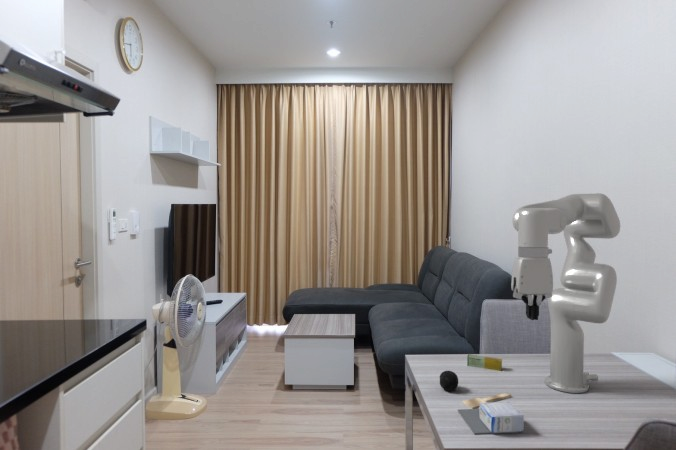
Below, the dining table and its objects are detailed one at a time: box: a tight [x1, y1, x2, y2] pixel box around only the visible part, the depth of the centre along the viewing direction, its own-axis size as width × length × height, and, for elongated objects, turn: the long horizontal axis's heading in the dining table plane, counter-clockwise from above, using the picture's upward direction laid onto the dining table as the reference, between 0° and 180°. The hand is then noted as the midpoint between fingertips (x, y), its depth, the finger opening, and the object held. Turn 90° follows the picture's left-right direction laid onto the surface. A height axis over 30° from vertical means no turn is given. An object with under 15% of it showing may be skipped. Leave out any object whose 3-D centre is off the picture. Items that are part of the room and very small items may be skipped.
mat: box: [457, 408, 521, 435], centre depth 119 cm, size 12×13×1 cm
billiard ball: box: [438, 370, 459, 392], centre depth 139 cm, size 6×6×6 cm
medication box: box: [466, 353, 503, 372], centre depth 158 cm, size 12×3×4 cm, turn 63°
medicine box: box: [478, 401, 525, 434], centre depth 116 cm, size 8×4×9 cm
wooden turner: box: [462, 392, 512, 409], centre depth 131 cm, size 16×4×1 cm, turn 113°
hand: (532, 318), depth 121 cm, fingers closed
